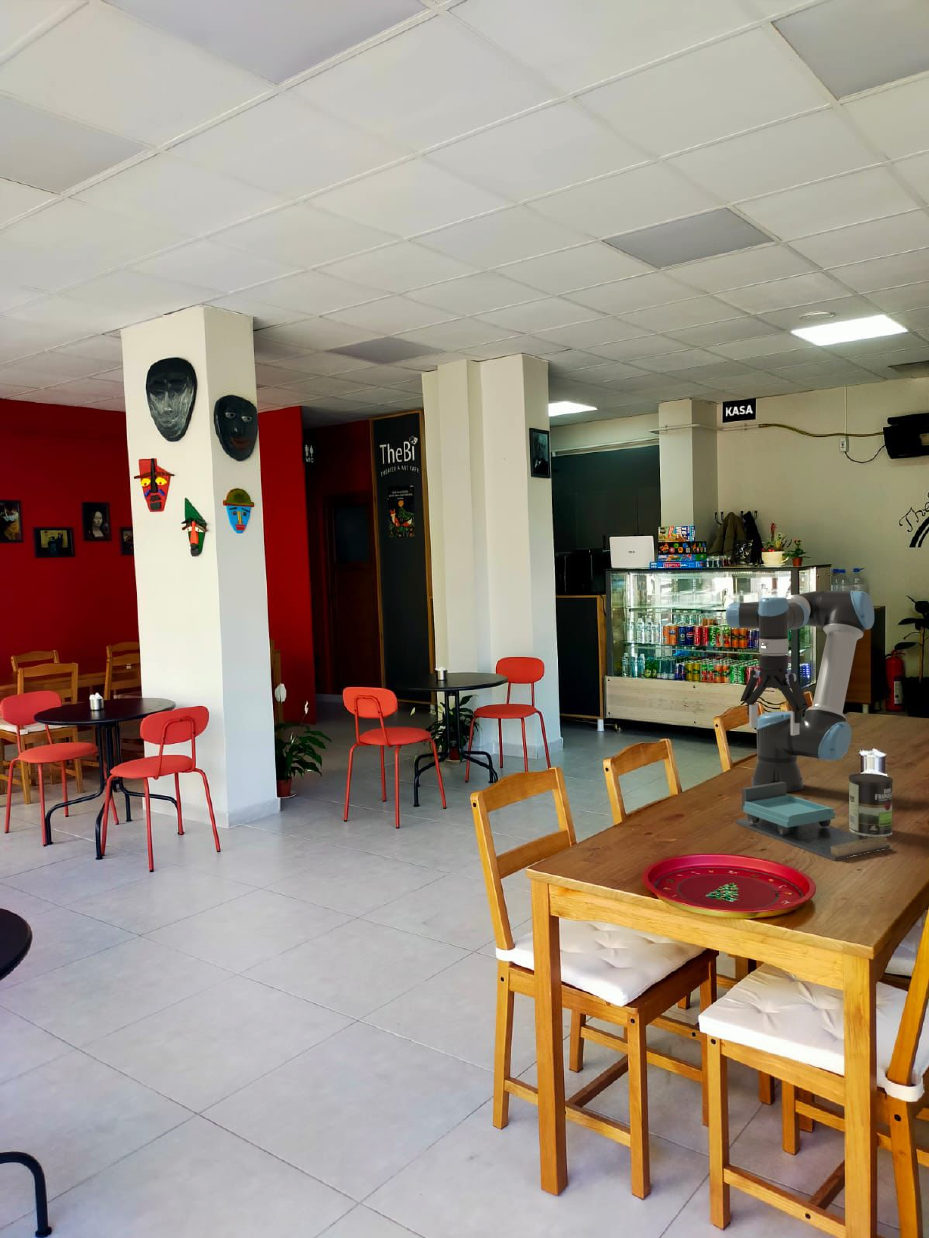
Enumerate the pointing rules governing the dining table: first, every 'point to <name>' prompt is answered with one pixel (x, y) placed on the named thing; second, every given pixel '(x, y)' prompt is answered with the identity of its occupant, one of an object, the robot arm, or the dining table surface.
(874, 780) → the coffee can
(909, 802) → the dining table surface
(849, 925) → the dining table surface
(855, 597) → the robot arm
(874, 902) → the dining table surface
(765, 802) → the cart
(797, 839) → the track
